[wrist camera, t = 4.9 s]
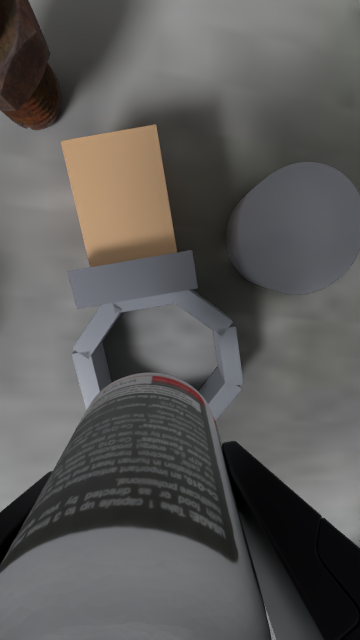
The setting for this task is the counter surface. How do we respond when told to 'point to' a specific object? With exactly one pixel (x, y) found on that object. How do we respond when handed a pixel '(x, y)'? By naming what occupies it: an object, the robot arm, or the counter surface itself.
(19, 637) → the pill bottle
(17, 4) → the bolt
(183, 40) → the counter surface
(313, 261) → the grey rounded lump
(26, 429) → the counter surface
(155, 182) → the octagonal ring stamp
